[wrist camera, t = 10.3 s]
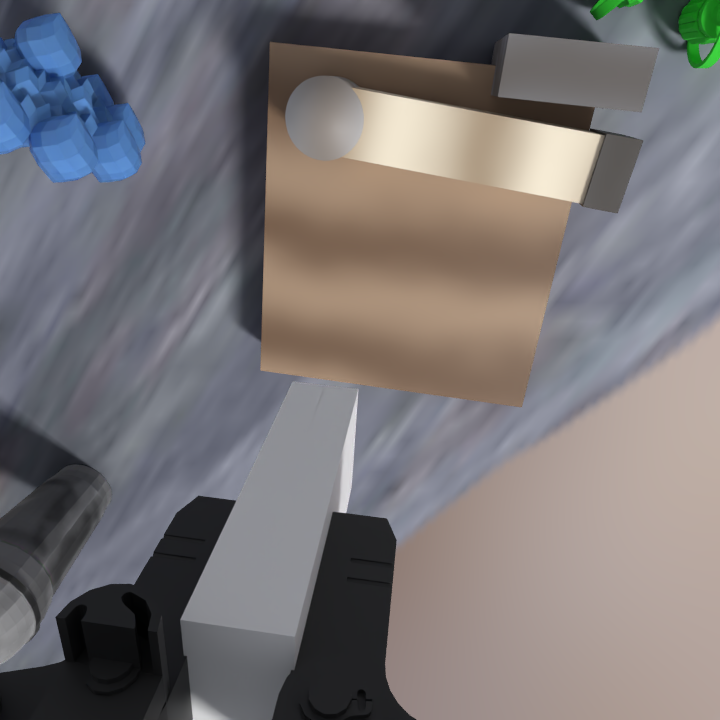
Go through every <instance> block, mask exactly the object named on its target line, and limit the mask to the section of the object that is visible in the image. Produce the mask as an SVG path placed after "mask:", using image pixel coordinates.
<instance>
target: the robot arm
mask: <svg viewBox="0 0 720 720" xmlns="http://www.w3.org/2000/svg"><path fill="white" fill-rule="evenodd" d="M357 401H358V389H354V388H345V387H336V386H328V385H319V384H310V383H301V382H292V384H291V386H290V388H289V390H288V392H287V394H286V397H285V399H284V401H283V403H282V405H281V407H280V409H279V411H278V414H277V416H276V418H275V420H274V422H273V424H272V426H271V428H270V431H269V433H268V435H267V437H266V439H265V441H264V443H263V445H262V447H261V450H260V452H259V454H258V456H257V458H256V460H255V462H254V464H253V467H252V469H251V471H250V473H249V475H248V477H247V479H246V481H245V484H244V486H243V488H242V490H241V492H240V494H239V496H238V498H237V501H234V500H226V499H219V498H211V497H203V496H198V497H196V498H195V499H194V500H193V501H191V502H190V503H189V504H187V505H186V506H185V507H184V508H182V509H181V510H180V511H179V512H177V513H176V515H175V517H174V518H173V520H172V522H171V524H170V525H169V527H168V529H167V530H166V532H165V534H164V538H163V539H161V540H160V542H159V544H158V545H157V547H156V549H155V551H154V554H153V557H150V559H149V561H148V562H147V564H146V566H145V567H144V569H143V571H142V572H141V574H140V576H139V578H138V579H137V581H136V583H135V584H134V585H132V584H110V585H106V586H103V587H99V588H96V589H92V590H89V591H88V592H86V593H84V594H83V595H81V596H79V597H78V598H76V599H74V600H72V601H71V602H70V603H69V604H68V605H67V606H66V607H65V608H64V609H63V610H62V611H61V612H60V613H59V614H58V615H57V616H56V621H57V625H58V630H59V634H60V639H61V643H62V647H63V652H64V656H65V660H64V661H62V662H59V663H55V664H51V665H47V666H43V667H36V668H30V669H23V670H16V671H10V672H3V673H0V720H416V719H415V718H413V717H411V716H410V715H409V714H408V713H407V712H406V711H405V710H404V709H403V708H402V707H401V706H400V705H399V704H398V703H397V701H396V699H395V698H394V696H393V694H392V693H391V691H390V689H389V685H388V682H387V679H386V675H385V674H386V673H385V658H386V647H387V636H388V626H389V615H390V602H391V593H392V583H393V571H394V561H395V551H396V538H395V536H394V534H393V531H392V529H391V527H390V524H389V522H388V520H387V519H386V518H378V517H370V516H363V515H355V514H347V513H346V510H347V506H348V501H349V496H350V492H351V487H352V473H353V458H354V444H355V430H356V416H357Z"/></svg>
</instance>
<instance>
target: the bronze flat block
mask: <svg viewBox="0 0 720 720" xmlns="http://www.w3.org/2000/svg"><path fill="white" fill-rule="evenodd" d="M658 51H659V48H652V47H642V46H632V45H622V44H613V43H603V42H593V41H583V40H573V39H563V38H553V37H543V36H533V35H523V34H513V33H509V34H507V35H506V36H504V37H503V38H502V39H500V40H499V41H497V42H496V43H495V46H494V51H493V57H492V63H491V65H487V64H477V63H468V62H458V61H449V60H439V59H429V58H420V57H410V56H401V55H391V54H381V53H372V52H362V51H352V50H343V49H333V48H324V47H314V46H304V45H295V44H285V43H276V42H270V54H269V90H268V125H267V161H266V196H265V231H264V267H263V302H262V337H261V371H268V372H275V373H283V374H290V375H297V376H304V377H311V378H318V379H325V380H332V381H339V382H346V383H353V384H360V385H368V386H375V387H382V388H389V389H396V390H403V391H410V392H417V393H424V394H431V395H438V396H445V397H452V398H460V399H467V400H474V401H481V402H488V403H495V404H502V405H509V406H516V407H522V404H523V400H524V396H525V392H526V388H527V384H528V380H529V376H530V371H531V367H532V363H533V359H534V355H535V351H536V347H537V343H538V339H539V335H540V330H541V326H542V322H543V318H544V314H545V310H546V306H547V302H548V298H549V293H550V289H551V285H552V281H553V277H554V273H555V269H556V265H557V261H558V256H559V252H560V248H561V244H562V240H563V236H564V232H565V228H566V224H567V219H568V215H569V211H570V207H571V203H572V202H571V201H566V200H561V199H555V198H550V197H545V196H540V195H535V194H530V193H524V192H519V191H514V190H509V189H504V188H499V187H493V186H488V185H483V184H478V183H473V182H468V181H462V180H457V179H452V178H447V177H442V176H437V175H431V174H426V173H421V172H416V171H411V170H406V169H400V168H395V167H390V166H385V165H380V164H374V163H369V162H364V161H359V160H354V159H349V158H343V157H340V158H338V159H335V160H330V161H322V160H316V159H313V158H311V157H308V156H307V155H305V154H304V153H302V152H301V151H300V150H299V149H298V148H297V147H296V146H295V145H294V143H293V142H292V140H291V138H290V136H289V134H288V131H287V127H286V120H285V113H286V106H287V103H288V100H289V98H290V96H291V94H292V93H293V91H294V90H295V89H296V87H297V86H299V85H300V84H301V83H302V82H304V81H305V80H307V79H309V78H312V77H316V76H338V77H343V78H346V79H349V80H350V81H352V82H354V83H355V84H356V85H358V86H359V87H361V88H366V89H371V90H377V91H382V92H387V93H393V94H398V95H403V96H408V97H414V98H419V99H424V100H430V101H435V102H440V103H446V104H451V105H456V106H461V107H467V108H472V109H477V110H483V111H488V112H493V113H498V114H504V115H509V116H514V117H520V118H525V119H530V120H535V121H541V122H546V123H551V124H557V125H562V126H567V127H573V128H578V129H583V130H588V131H589V129H590V125H591V121H592V117H593V113H594V108H595V107H597V108H606V109H615V110H625V111H634V112H642V109H643V105H644V102H645V98H646V94H647V91H648V87H649V83H650V80H651V76H652V72H653V69H654V65H655V62H656V58H657V54H658Z"/></svg>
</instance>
